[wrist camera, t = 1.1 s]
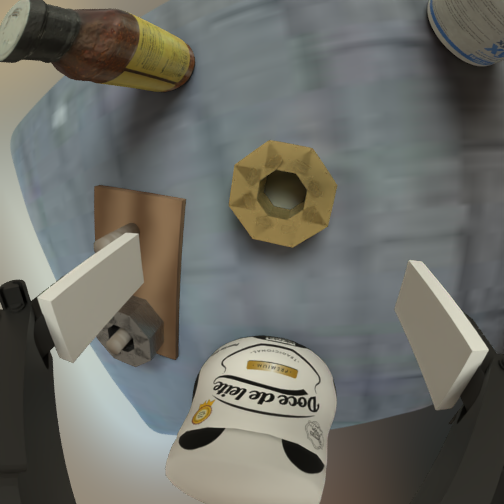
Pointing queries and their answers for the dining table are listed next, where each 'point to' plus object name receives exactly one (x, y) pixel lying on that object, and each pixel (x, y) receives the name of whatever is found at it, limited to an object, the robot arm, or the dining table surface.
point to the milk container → (256, 426)
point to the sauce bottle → (96, 46)
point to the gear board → (146, 252)
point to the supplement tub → (470, 28)
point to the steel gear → (136, 331)
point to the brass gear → (275, 218)
